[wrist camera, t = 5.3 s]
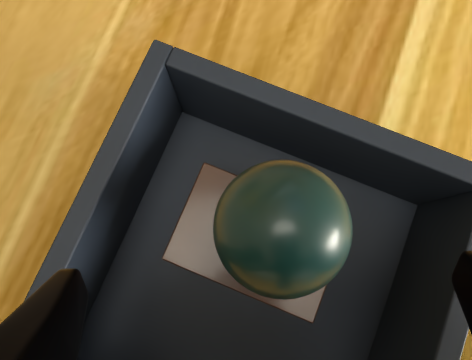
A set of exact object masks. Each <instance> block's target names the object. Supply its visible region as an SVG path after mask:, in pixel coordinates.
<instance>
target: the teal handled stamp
mask: <svg viewBox="0 0 472 360" xmlns="http://www.w3.org/2000/svg"><path fill="white" fill-rule="evenodd" d="M352 237H353V225H352V217H351V214H350V210H349V207H348V204H347V202H346V200H345V198H344V196H343V194H342V192H341V191H340V190H339V188H338V187H337V186H336V184H335V183H334V182H333V181H332V180H331V179H330V178H329V177H327V176H326V175H325V174H324V173H322V172H321V171H319V170H318V169H316V168H314V167H312V166H310V165H308V164H305V163H302V162H298V161H293V160H271V161H266V162H262V163H259V164H256V165H254V166H252V167H250V168H248V169H246V170H245V171H243V172H242V173H240V174H239V175H235V174H233V173H230V172H228V171H225V170H223V169H220V168H218V167H215V166H213V165H211V164H208V163H206V162H204V163H203V165H202V167H201V170H200V172H199V174H198V176H197V179H196V181H195V183H194V185H193V188H192V190H191V192H190V195H189V197H188V199H187V201H186V204H185V206H184V208H183V210H182V213H181V215H180V217H179V219H178V222H177V224H176V226H175V229H174V231H173V233H172V235H171V238H170V240H169V242H168V244H167V247H166V249H165V251H164V254H163V256H162V260H164V261H167V262H169V263H171V264H174V265H176V266H178V267H181V268H183V269H185V270H188V271H190V272H192V273H195V274H197V275H199V276H202V277H204V278H206V279H209V280H211V281H213V282H216V283H218V284H220V285H223V286H225V287H227V288H230V289H232V290H235V291H237V292H239V293H242V294H244V295H246V296H249V297H251V298H253V299H256V300H258V301H260V302H263V303H265V304H267V305H270V306H272V307H274V308H277V309H279V310H281V311H284V312H286V313H288V314H291V315H293V316H295V317H298V318H300V319H302V320H305V321H307V322H309V323H314V320H315V317H316V315H317V312H318V309H319V306H320V303H321V301H322V298H323V295H324V292H325V289H326V287H327V284H328V283H329V282H330V281H331V280H332V279H333V278H335V276H336V275H337V274H338V273H339V271H340V270H341V269H342V267H343V265H344V264H345V262H346V259H347V257H348V255H349V252H350V248H351V244H352Z"/></svg>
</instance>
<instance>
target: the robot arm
mask: <svg viewBox="0 0 472 360" xmlns="http://www.w3.org/2000/svg"><path fill="white" fill-rule="evenodd" d="M451 280H452V285H453V287H454V290H455V293H456V295H457V298H458V300H459V303H460V305H461V308H462V311H463V313H464V316H465V318H466V321H467V324H468V326H469V329H470V331H471V334H472V251H464V252H462V253H461V254H460V256H459V259H458V261H457V263H456V265H455V268H454V270H453V272H452V277H451ZM87 304H88V290H87V288H86V285H85V282H84V280H83V277H82V275H81V272H80V271H79V270H78V269H76V268H72V269H61V270H59V271H57V272H56V273H55V274H54V275H53V276H52V277H51V278H49V279H48V280H47V281H46V282H45V283H44V284H43V285H42V286H41V287H40V288H39V289H37V290H36V291H35V292H34V293H33V294H32V295H31V296H30V297H29V298H28V299H27V300H26V301H24V302H23V303H22V304H21V305H20V306H19V307H18V308H17V309H16V310H15V311H14V312H13V313H11V314H10V315H9V316H8V317H7V318H6V319H5V320H4V321H3V322H2V323H1V324H0V360H77V357H78V352H79V347H80V341H81V336H82V331H83V325H84V320H85V315H86V309H87Z"/></svg>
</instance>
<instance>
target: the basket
mask: <svg viewBox="0 0 472 360" xmlns="http://www.w3.org/2000/svg"><path fill="white" fill-rule="evenodd" d="M271 160H293V161H298V162H302V163H305V164H308V165H310V166H312V167H314V168H316V169H318V170H319V171H321V172H322V173H324V174H325V175H326V176H327V177H329V178H330V179H331V180H332V181H333V182H334V183H335V184H336V186H337V187H338V188H339V190H340V191H341V192H342V194H343V196H344V198H345V200H346V202H347V204H348V207H349V210H350V214H351V217H352V225H353V237H352V244H351V248H350V252H349V255H348V257H347V259H346V262H345V264H344V265H343V267H342V269H341V270H340V271H339V273H338V274H337V275H336V276H335V278H333V279H332V280H331V281H330V282H329V283H328V284H327V287H326V289H325V292H324V295H323V298H322V301H321V303H320V306H319V309H318V312H317V315H316V317H315V320H314V323H309V322H307V321H305V320H302V319H300V318H298V317H295V316H293V315H291V314H288V313H286V312H284V311H281V310H279V309H277V308H274V307H272V306H270V305H267V304H265V303H263V302H260V301H258V300H256V299H253V298H251V297H249V296H246V295H244V294H242V293H239V292H237V291H235V290H232V289H230V288H227V287H225V286H223V285H220V284H218V283H216V282H213V281H211V280H209V279H206V278H204V277H202V276H199V275H197V274H195V273H192V272H190V271H188V270H185V269H183V268H181V267H178V266H176V265H174V264H171V263H169V262H167V261H164V260H162V256H163V254H164V251H165V249H166V247H167V244H168V242H169V240H170V238H171V235H172V233H173V231H174V229H175V226H176V224H177V222H178V219H179V217H180V215H181V213H182V210H183V208H184V206H185V204H186V201H187V199H188V197H189V195H190V192H191V190H192V188H193V185H194V183H195V181H196V179H197V176H198V174H199V172H200V170H201V167H202V165H203V163H204V162H206V163H208V164H211V165H213V166H215V167H218V168H220V169H223V170H225V171H228V172H230V173H233V174H235V175H239V174H240V173H242V172H243V171H245V170H246V169H248V168H250V167H252V166H254V165H256V164H259V163H262V162H266V161H271ZM464 251H472V161H469V160H466V159H464V158H461V157H459V156H456V155H453V154H451V153H448V152H446V151H443V150H440V149H438V148H435V147H433V146H430V145H427V144H425V143H422V142H420V141H417V140H415V139H412V138H409V137H407V136H404V135H402V134H399V133H396V132H394V131H391V130H389V129H386V128H383V127H381V126H378V125H376V124H373V123H370V122H368V121H365V120H363V119H360V118H357V117H355V116H352V115H350V114H347V113H345V112H342V111H339V110H337V109H334V108H332V107H329V106H326V105H324V104H321V103H319V102H316V101H313V100H311V99H308V98H306V97H303V96H300V95H298V94H295V93H293V92H290V91H287V90H285V89H282V88H280V87H277V86H274V85H272V84H269V83H267V82H264V81H262V80H259V79H256V78H254V77H251V76H249V75H246V74H243V73H241V72H238V71H236V70H233V69H230V68H228V67H225V66H223V65H220V64H217V63H215V62H212V61H210V60H207V59H204V58H202V57H199V56H197V55H194V54H192V53H189V52H186V51H184V50H181V49H179V48H176V47H174V48H173V47H172V46H171V45H168V44H165V43H163V42H160V41H158V40H154V41H153V43H152V45H151V47H150V49H149V51H148V53H147V55H146V57H145V59H144V61H143V63H142V65H141V67H140V69H139V71H138V73H137V75H136V77H135V79H134V81H133V83H132V85H131V87H130V89H129V91H128V93H127V95H126V97H125V99H124V101H123V103H122V105H121V107H120V109H119V111H118V113H117V115H116V117H115V119H114V121H113V123H112V125H111V127H110V129H109V131H108V133H107V135H106V137H105V139H104V141H103V143H102V145H101V147H100V149H99V151H98V153H97V155H96V157H95V159H94V161H93V163H92V165H91V167H90V169H89V171H88V173H87V175H86V177H85V179H84V181H83V184H82V186H81V188H80V190H79V192H78V194H77V196H76V198H75V200H74V202H73V204H72V206H71V208H70V210H69V212H68V214H67V216H66V218H65V220H64V222H63V224H62V226H61V228H60V230H59V232H58V234H57V236H56V238H55V240H54V242H53V244H52V246H51V248H50V250H49V252H48V254H47V256H46V258H45V260H44V262H43V264H42V266H41V268H40V270H39V272H38V274H37V276H36V278H35V280H34V282H33V284H32V286H31V288H30V290H29V292H28V294H27V296H26V298H25V300H24V301H26V300H27V299H28V298H29V297H30V296H31V295H32V294H33V293H34V292H35V291H36V290H37V289H39V288H40V287H41V286H42V285H43V284H44V283H45V282H46V281H47V280H48V279H49V278H51V277H52V276H53V275H54V274H55V273H56V272H57V271H59V270H61V269H72V268H76V269H78V270H79V271H80V272H81V275H82V277H83V280H84V282H85V285H86V288H87V290H88V304H87V309H86V315H85V320H84V325H83V331H82V336H81V341H80V347H79V352H78V357H77V360H460V359H461V355H462V352H463V348H464V345H465V341H466V338H467V334H468V331H469V326H468V324H467V321H466V318H465V316H464V313H463V311H462V308H461V305H460V303H459V300H458V298H457V295H456V293H455V290H454V287H453V285H452V280H451V277H452V272H453V270H454V268H455V265H456V263H457V261H458V259H459V256H460V254H461V253H462V252H464Z"/></svg>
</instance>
